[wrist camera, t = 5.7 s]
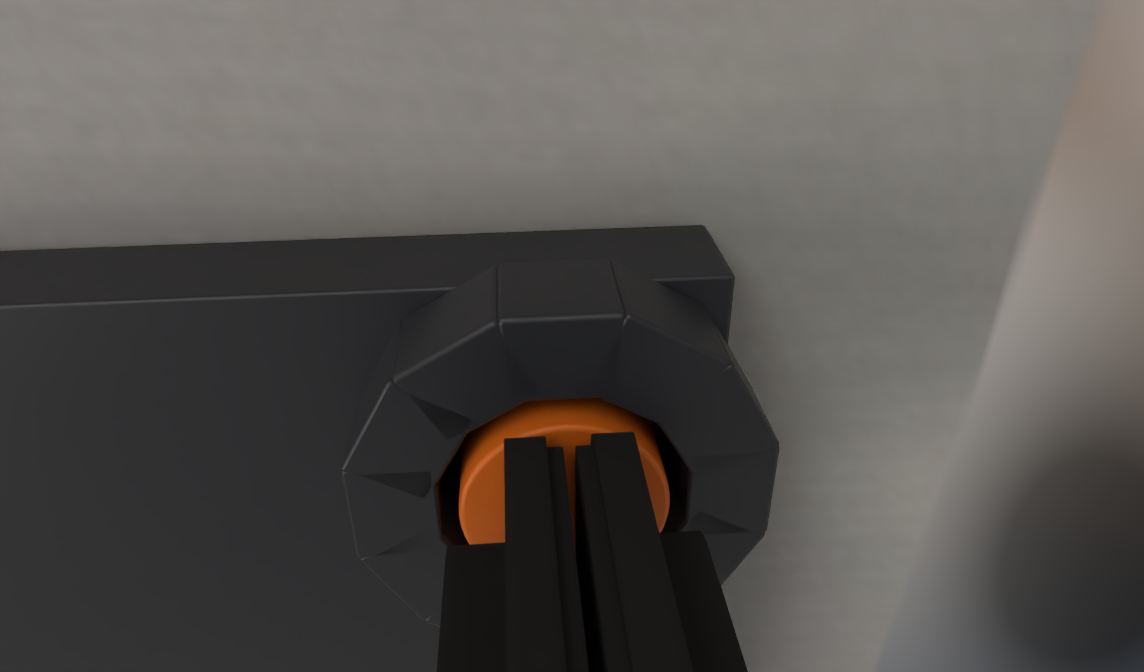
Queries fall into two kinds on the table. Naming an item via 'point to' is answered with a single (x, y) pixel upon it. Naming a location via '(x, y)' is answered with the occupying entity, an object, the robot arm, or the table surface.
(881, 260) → the table surface
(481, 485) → the button
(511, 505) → the robot arm
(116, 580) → the scale
